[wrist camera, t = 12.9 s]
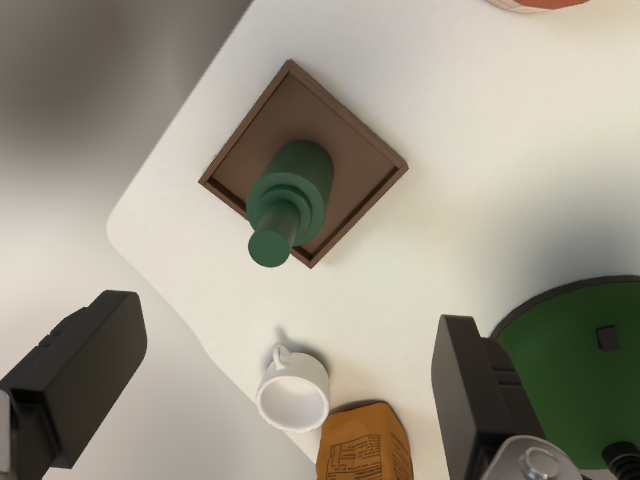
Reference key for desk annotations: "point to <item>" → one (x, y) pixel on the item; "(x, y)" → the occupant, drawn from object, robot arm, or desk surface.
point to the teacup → (294, 392)
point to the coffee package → (364, 446)
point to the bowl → (534, 4)
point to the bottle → (289, 201)
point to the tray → (313, 125)
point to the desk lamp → (583, 369)
